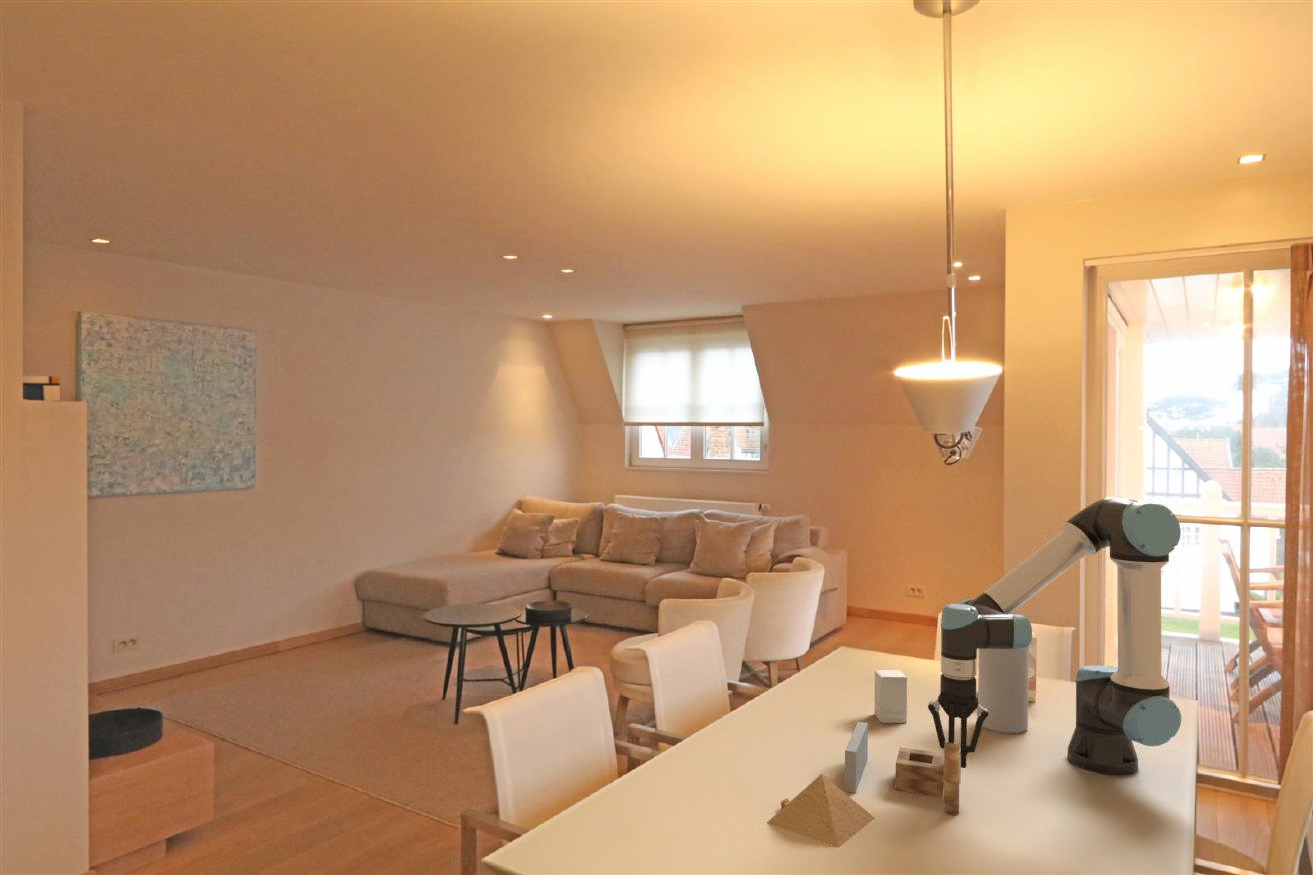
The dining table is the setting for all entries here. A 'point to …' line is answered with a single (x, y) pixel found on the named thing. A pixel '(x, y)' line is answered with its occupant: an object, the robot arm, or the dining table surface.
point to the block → (920, 771)
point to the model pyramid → (822, 813)
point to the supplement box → (890, 696)
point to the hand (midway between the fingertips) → (957, 780)
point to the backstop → (856, 757)
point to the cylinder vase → (1004, 689)
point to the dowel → (951, 778)
